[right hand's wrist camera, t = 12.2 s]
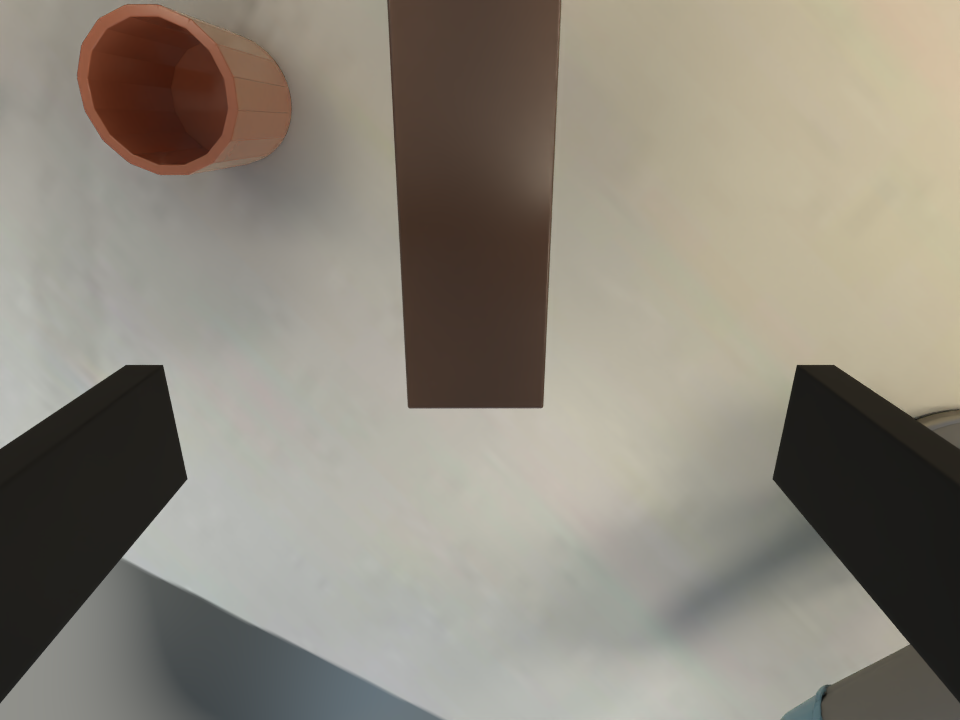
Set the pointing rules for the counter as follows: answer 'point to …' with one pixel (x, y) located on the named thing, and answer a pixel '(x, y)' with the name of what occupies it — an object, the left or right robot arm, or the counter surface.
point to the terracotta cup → (180, 91)
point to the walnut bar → (474, 195)
